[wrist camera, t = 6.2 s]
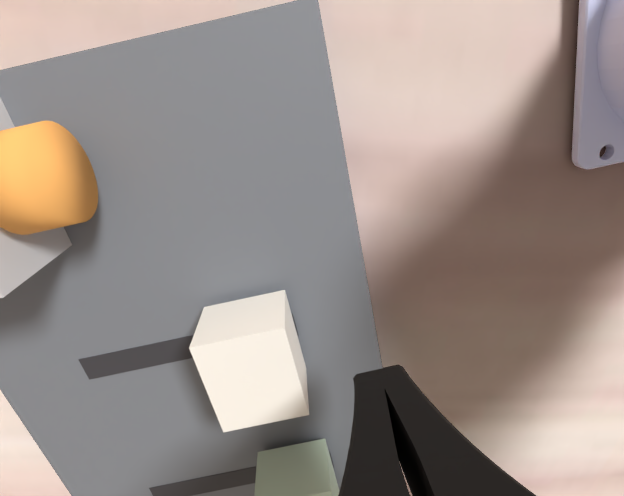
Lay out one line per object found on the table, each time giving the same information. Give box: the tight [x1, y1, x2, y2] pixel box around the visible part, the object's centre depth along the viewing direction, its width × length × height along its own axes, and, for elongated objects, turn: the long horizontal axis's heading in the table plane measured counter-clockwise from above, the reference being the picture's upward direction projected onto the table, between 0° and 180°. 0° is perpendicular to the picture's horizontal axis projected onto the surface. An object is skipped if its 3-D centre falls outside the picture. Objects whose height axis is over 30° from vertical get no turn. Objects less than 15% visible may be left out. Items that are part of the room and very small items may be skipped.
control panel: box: [0, 0, 382, 496], centre depth 14 cm, size 15×21×5 cm
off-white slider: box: [189, 290, 309, 432], centre depth 14 cm, size 3×4×2 cm
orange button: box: [0, 121, 98, 235], centre depth 11 cm, size 2×3×3 cm, turn 12°
